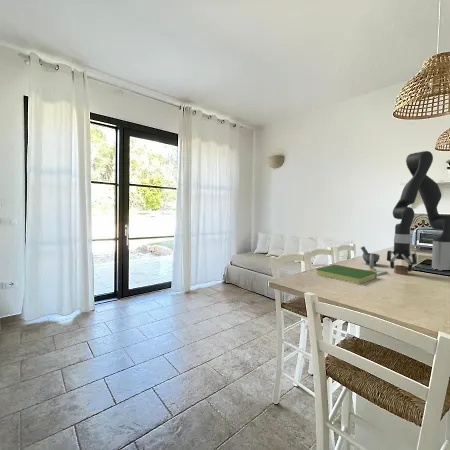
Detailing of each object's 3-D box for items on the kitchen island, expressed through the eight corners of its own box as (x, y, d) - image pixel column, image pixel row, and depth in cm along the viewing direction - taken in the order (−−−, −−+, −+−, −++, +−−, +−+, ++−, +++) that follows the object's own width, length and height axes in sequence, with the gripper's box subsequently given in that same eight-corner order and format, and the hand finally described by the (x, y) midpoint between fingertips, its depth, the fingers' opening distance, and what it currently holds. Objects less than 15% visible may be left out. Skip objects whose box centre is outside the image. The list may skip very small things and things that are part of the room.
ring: (397, 271, 148) (397, 264, 148) (409, 273, 143) (409, 266, 143) (392, 272, 145) (392, 266, 145) (404, 275, 140) (404, 268, 140)
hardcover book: (376, 279, 134) (376, 272, 134) (359, 285, 124) (359, 278, 123) (333, 270, 155) (333, 264, 155) (314, 275, 144) (314, 268, 144)
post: (366, 268, 156) (366, 251, 155) (387, 272, 146) (387, 254, 145) (355, 271, 149) (356, 253, 148) (377, 275, 139) (377, 256, 138)
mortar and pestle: (380, 264, 168) (380, 246, 167) (378, 266, 160) (378, 248, 160) (361, 262, 175) (361, 245, 174) (358, 264, 167) (359, 246, 167)
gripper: (419, 242, 139) (418, 271, 140) (391, 240, 151) (390, 266, 152) (414, 243, 135) (412, 273, 136) (385, 241, 147) (384, 268, 148)
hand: (400, 269), depth 144 cm, fingers open, 8 cm apart
